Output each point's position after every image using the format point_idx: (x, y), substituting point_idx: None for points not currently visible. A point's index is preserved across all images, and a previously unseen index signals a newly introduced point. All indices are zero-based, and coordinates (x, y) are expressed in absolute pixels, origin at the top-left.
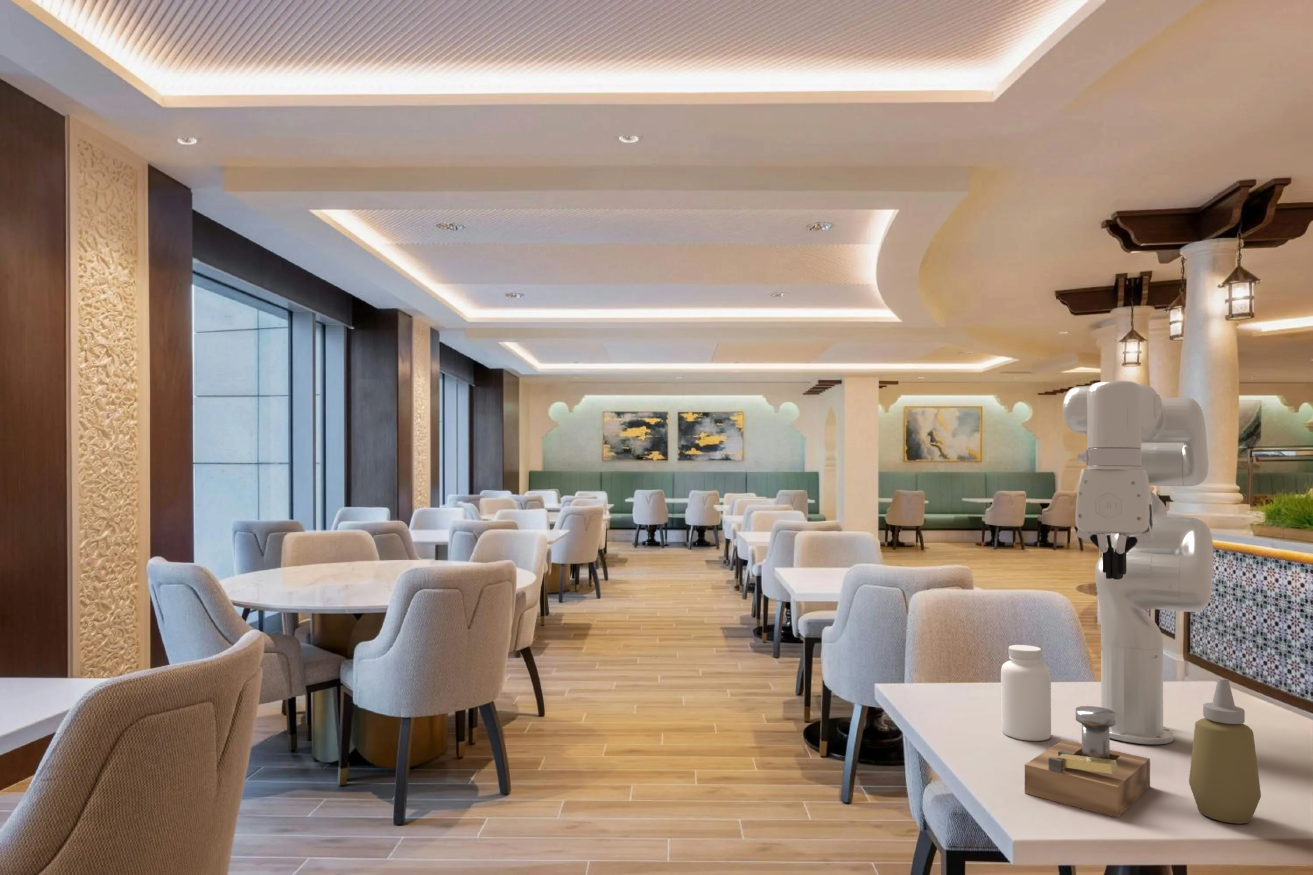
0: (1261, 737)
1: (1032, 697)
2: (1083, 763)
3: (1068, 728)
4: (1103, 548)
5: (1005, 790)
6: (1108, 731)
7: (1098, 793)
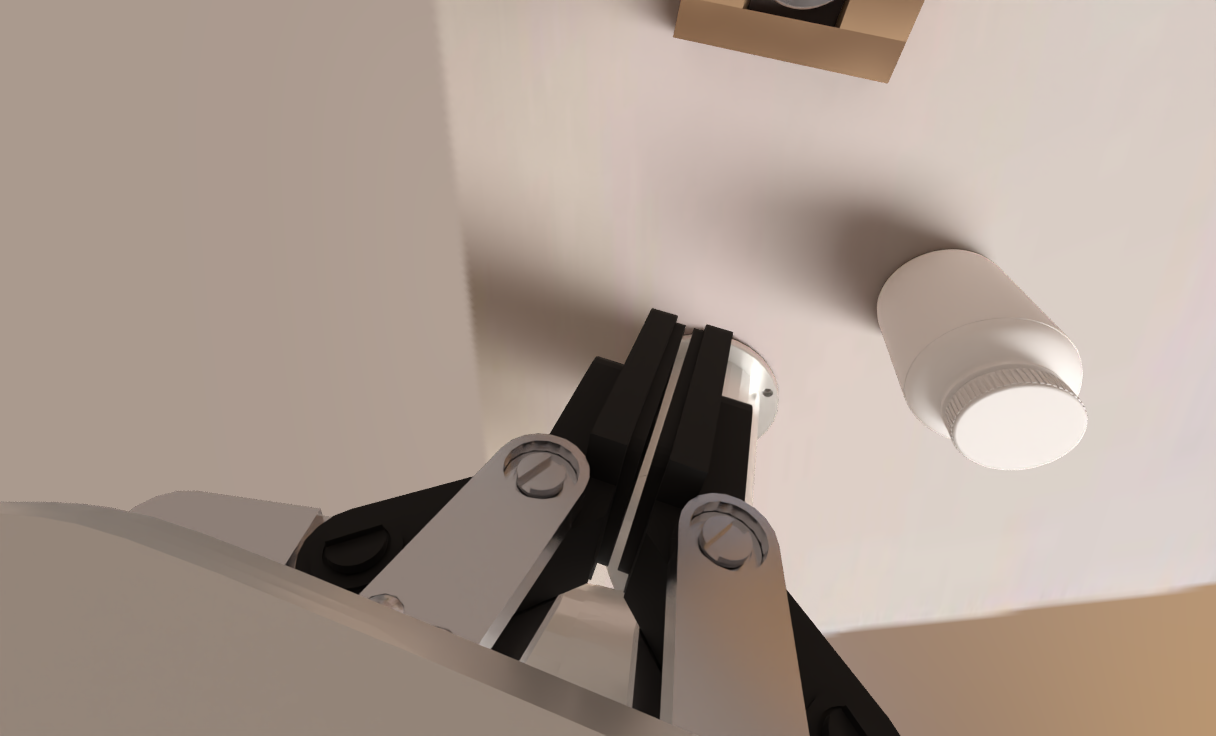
0: None
1: (959, 293)
2: None
3: (825, 383)
4: (728, 546)
5: None
6: None
7: None
